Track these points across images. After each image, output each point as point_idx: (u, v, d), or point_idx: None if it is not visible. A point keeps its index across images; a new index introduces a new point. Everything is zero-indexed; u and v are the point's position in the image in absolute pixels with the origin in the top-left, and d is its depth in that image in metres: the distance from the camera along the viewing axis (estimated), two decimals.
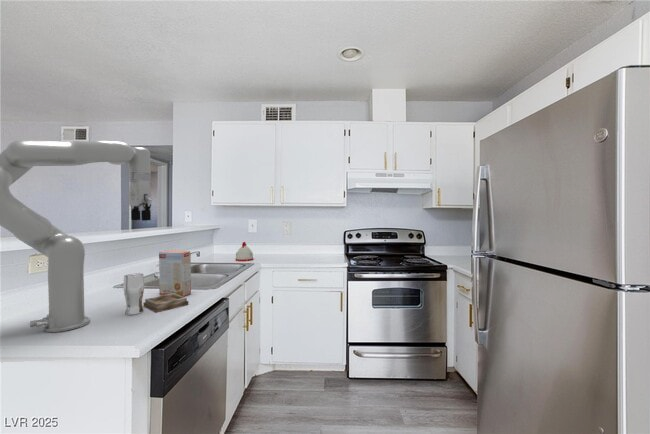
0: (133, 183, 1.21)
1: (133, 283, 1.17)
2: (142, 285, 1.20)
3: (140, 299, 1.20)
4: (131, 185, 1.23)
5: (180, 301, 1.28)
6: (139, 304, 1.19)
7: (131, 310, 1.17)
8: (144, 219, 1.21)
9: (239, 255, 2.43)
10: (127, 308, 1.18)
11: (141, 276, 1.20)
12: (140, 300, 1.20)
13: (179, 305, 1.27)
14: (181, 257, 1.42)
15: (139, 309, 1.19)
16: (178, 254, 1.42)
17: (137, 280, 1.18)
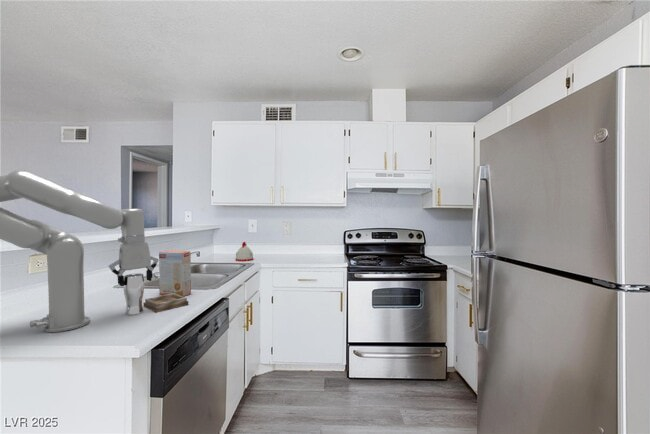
0: (138, 245, 1.19)
1: (133, 283, 1.17)
2: (142, 285, 1.20)
3: (140, 299, 1.20)
4: (131, 248, 1.17)
5: (180, 301, 1.28)
6: (139, 304, 1.19)
7: (131, 310, 1.17)
8: None
9: (239, 255, 2.43)
10: (127, 308, 1.18)
11: (141, 276, 1.20)
12: (140, 300, 1.20)
13: (179, 305, 1.27)
14: (181, 257, 1.42)
15: (139, 309, 1.19)
16: (178, 254, 1.42)
17: (137, 280, 1.18)
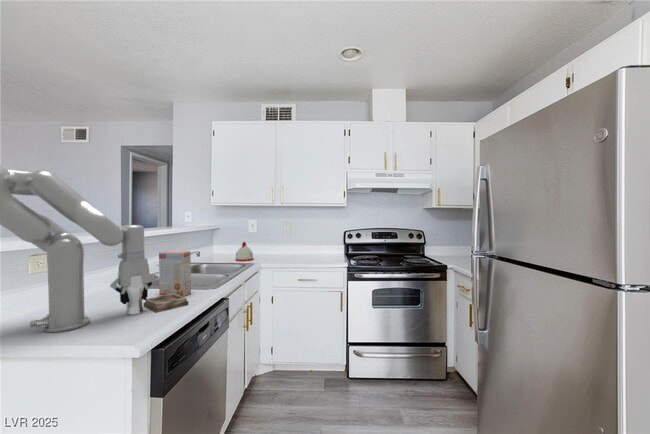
0: (138, 262, 1.19)
1: (133, 283, 1.17)
2: (142, 285, 1.20)
3: (140, 299, 1.20)
4: (131, 264, 1.17)
5: (180, 301, 1.28)
6: (139, 304, 1.19)
7: (131, 310, 1.17)
8: None
9: (239, 255, 2.43)
10: (127, 308, 1.18)
11: None
12: (140, 300, 1.20)
13: (179, 305, 1.27)
14: (181, 257, 1.42)
15: (139, 309, 1.19)
16: (178, 254, 1.42)
17: (137, 280, 1.18)
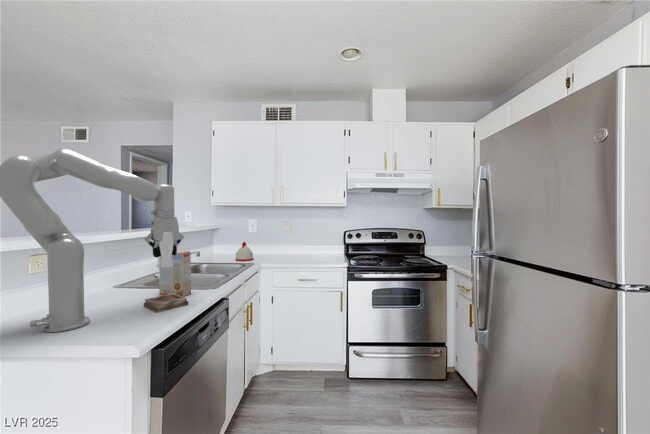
0: (169, 219, 1.27)
1: (165, 238, 1.26)
2: (172, 241, 1.29)
3: (171, 254, 1.28)
4: (163, 220, 1.25)
5: (180, 301, 1.28)
6: (170, 258, 1.28)
7: (163, 263, 1.26)
8: None
9: (239, 255, 2.43)
10: (159, 261, 1.27)
11: (171, 232, 1.28)
12: (171, 255, 1.28)
13: (179, 305, 1.27)
14: (181, 257, 1.42)
15: (170, 263, 1.28)
16: (178, 254, 1.42)
17: (168, 235, 1.27)
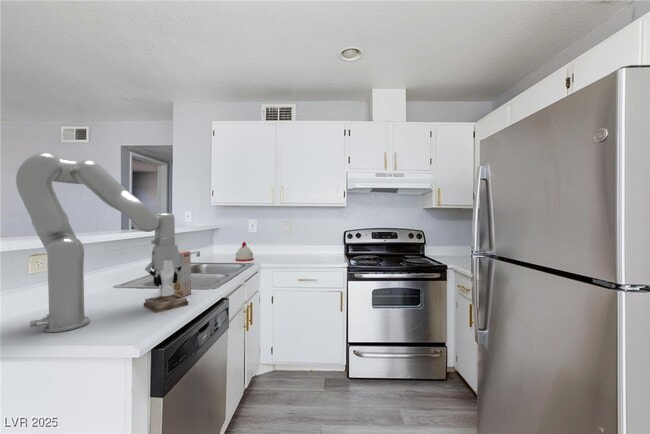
0: (169, 247, 1.28)
1: (165, 267, 1.26)
2: (173, 269, 1.29)
3: (171, 282, 1.29)
4: (163, 249, 1.26)
5: (180, 301, 1.28)
6: (171, 286, 1.28)
7: (164, 292, 1.27)
8: None
9: (239, 255, 2.43)
10: (160, 290, 1.27)
11: None
12: (171, 283, 1.29)
13: (179, 305, 1.27)
14: (181, 257, 1.42)
15: (171, 291, 1.28)
16: None
17: (169, 264, 1.27)
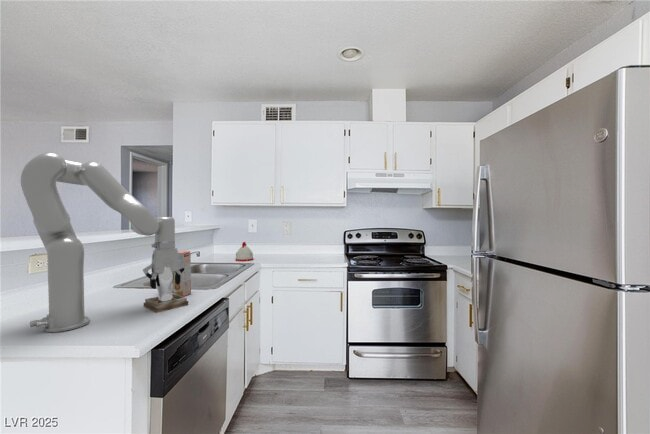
0: (170, 251, 1.28)
1: (164, 274, 1.26)
2: (172, 276, 1.29)
3: (170, 289, 1.29)
4: (163, 253, 1.26)
5: (180, 301, 1.28)
6: (170, 293, 1.28)
7: (163, 299, 1.26)
8: None
9: (239, 255, 2.43)
10: (159, 297, 1.27)
11: None
12: (170, 290, 1.29)
13: (179, 305, 1.27)
14: (181, 257, 1.42)
15: (170, 298, 1.28)
16: None
17: (167, 271, 1.27)
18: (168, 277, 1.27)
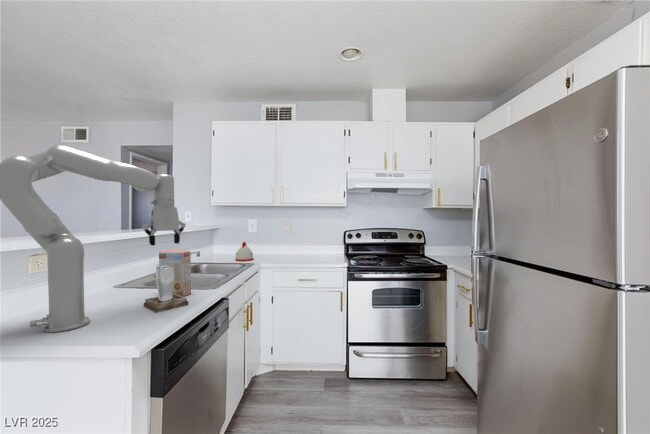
0: (169, 209, 1.27)
1: (165, 274, 1.26)
2: (172, 276, 1.29)
3: (171, 289, 1.28)
4: (162, 210, 1.25)
5: (180, 301, 1.28)
6: (170, 294, 1.28)
7: (163, 299, 1.26)
8: None
9: (239, 255, 2.43)
10: (159, 297, 1.27)
11: (172, 268, 1.28)
12: (171, 290, 1.29)
13: (179, 305, 1.27)
14: (181, 257, 1.42)
15: (170, 298, 1.28)
16: (178, 254, 1.42)
17: (168, 271, 1.27)
18: (169, 277, 1.27)
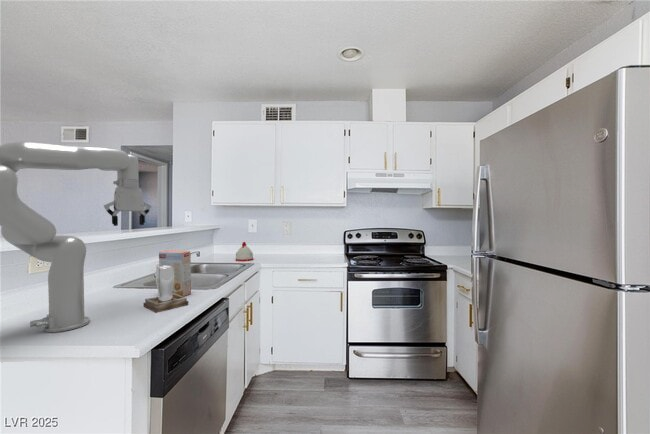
0: (132, 189, 1.27)
1: (165, 274, 1.26)
2: (173, 276, 1.29)
3: (171, 289, 1.29)
4: (125, 190, 1.25)
5: (180, 301, 1.28)
6: (170, 294, 1.28)
7: (163, 299, 1.26)
8: None
9: (239, 255, 2.43)
10: (159, 297, 1.27)
11: (172, 268, 1.28)
12: (171, 290, 1.29)
13: (179, 305, 1.27)
14: (181, 257, 1.42)
15: (170, 298, 1.28)
16: (178, 254, 1.42)
17: (168, 271, 1.27)
18: (169, 277, 1.27)
